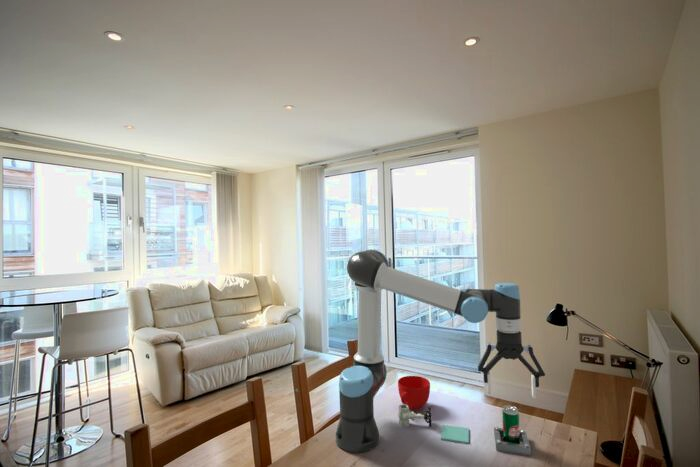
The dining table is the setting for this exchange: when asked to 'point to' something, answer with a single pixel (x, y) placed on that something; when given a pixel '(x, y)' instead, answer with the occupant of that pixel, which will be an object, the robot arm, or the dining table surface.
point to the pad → (455, 434)
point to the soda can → (511, 424)
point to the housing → (512, 447)
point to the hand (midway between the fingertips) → (511, 394)
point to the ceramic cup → (414, 391)
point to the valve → (412, 415)
